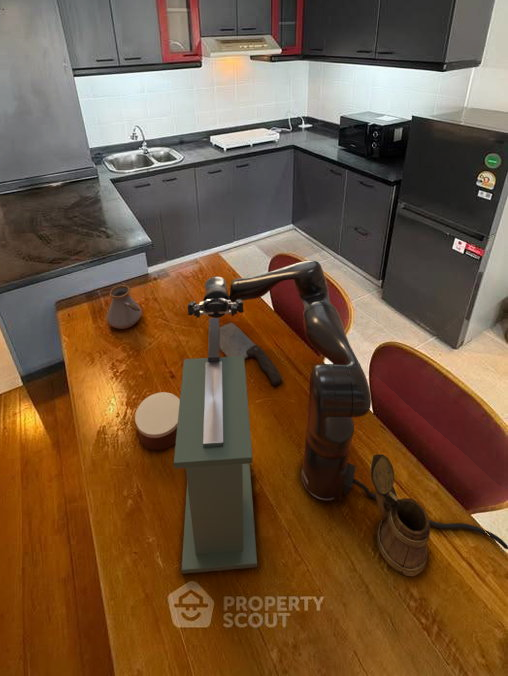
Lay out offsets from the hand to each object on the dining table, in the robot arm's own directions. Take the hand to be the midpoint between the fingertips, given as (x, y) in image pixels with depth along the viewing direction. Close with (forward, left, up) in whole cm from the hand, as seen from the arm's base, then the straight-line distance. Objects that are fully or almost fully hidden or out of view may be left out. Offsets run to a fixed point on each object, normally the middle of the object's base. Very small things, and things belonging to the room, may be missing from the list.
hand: (215, 312), depth 92 cm
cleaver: (-1, -16, -29) cm, 33 cm away
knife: (-10, +19, +3) cm, 22 cm away
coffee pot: (+39, -10, -29) cm, 49 cm away
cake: (+9, +15, -29) cm, 34 cm away
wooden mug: (-46, +15, -29) cm, 57 cm away
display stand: (-13, +24, -29) cm, 40 cm away
